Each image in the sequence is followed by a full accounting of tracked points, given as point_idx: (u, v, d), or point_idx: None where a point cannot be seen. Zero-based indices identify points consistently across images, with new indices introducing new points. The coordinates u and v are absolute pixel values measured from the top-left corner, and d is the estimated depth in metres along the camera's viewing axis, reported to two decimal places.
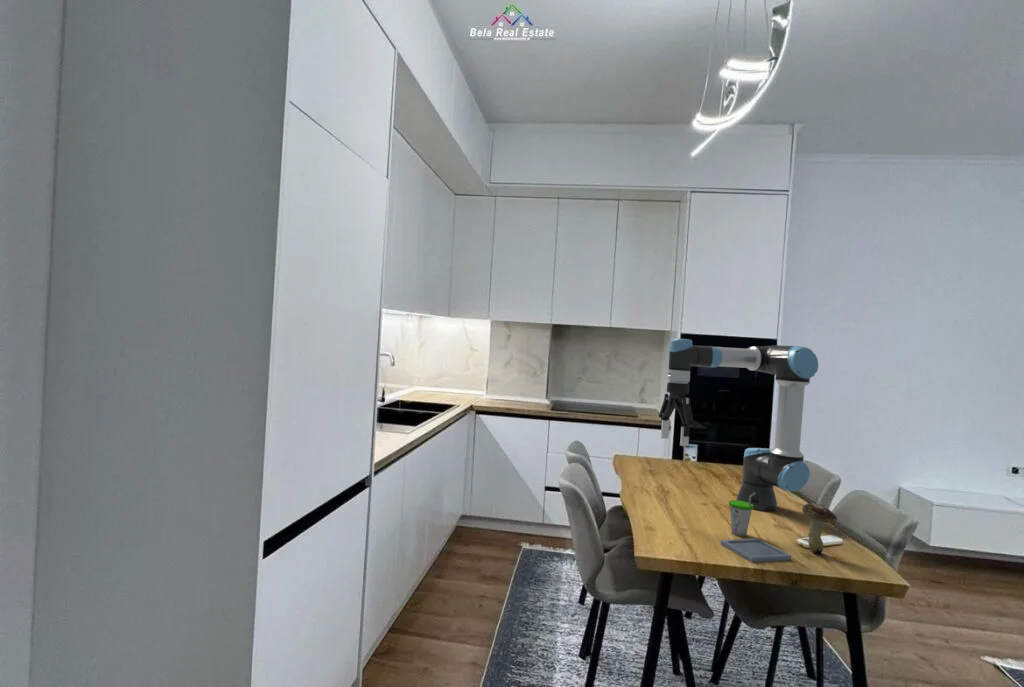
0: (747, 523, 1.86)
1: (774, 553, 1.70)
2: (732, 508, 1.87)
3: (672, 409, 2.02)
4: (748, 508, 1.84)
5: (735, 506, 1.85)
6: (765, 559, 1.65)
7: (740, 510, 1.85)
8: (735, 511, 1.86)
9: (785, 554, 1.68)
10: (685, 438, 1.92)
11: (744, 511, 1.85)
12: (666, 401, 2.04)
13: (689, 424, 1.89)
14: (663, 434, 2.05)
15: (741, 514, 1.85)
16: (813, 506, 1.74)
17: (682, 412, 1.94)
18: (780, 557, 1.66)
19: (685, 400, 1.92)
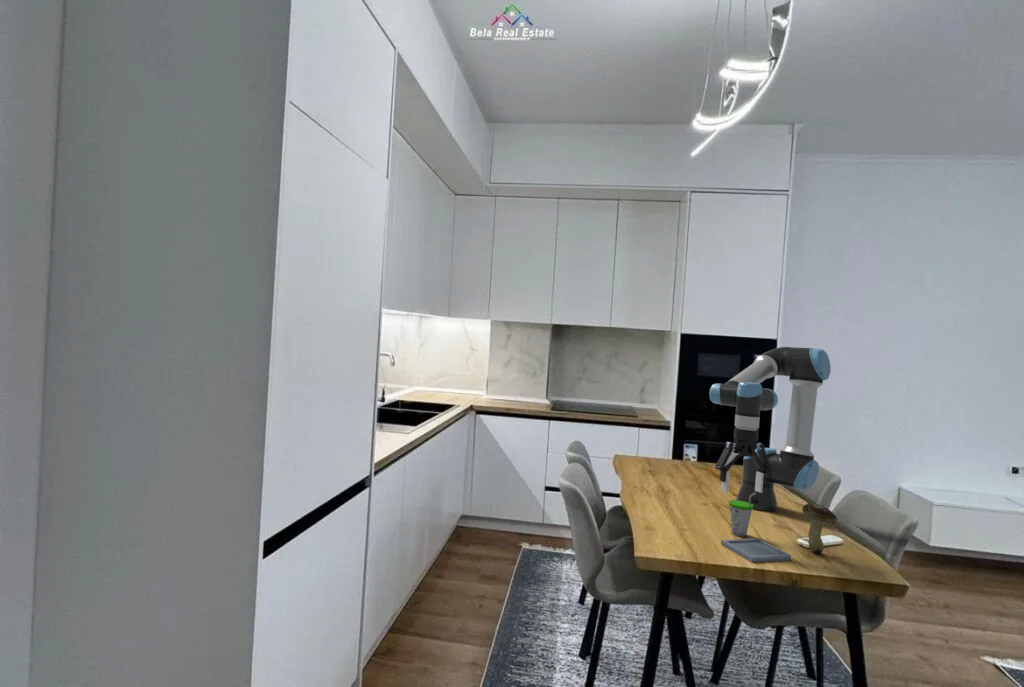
0: (747, 523, 1.86)
1: (774, 553, 1.70)
2: (732, 508, 1.87)
3: (754, 459, 1.88)
4: (748, 508, 1.84)
5: (735, 506, 1.85)
6: (765, 559, 1.65)
7: (740, 510, 1.85)
8: (735, 511, 1.86)
9: (785, 554, 1.68)
10: (723, 483, 1.86)
11: (744, 511, 1.85)
12: (758, 451, 1.90)
13: (716, 467, 1.85)
14: (756, 486, 1.90)
15: (741, 514, 1.85)
16: (813, 506, 1.74)
17: (729, 457, 1.87)
18: (780, 557, 1.66)
19: (726, 444, 1.87)
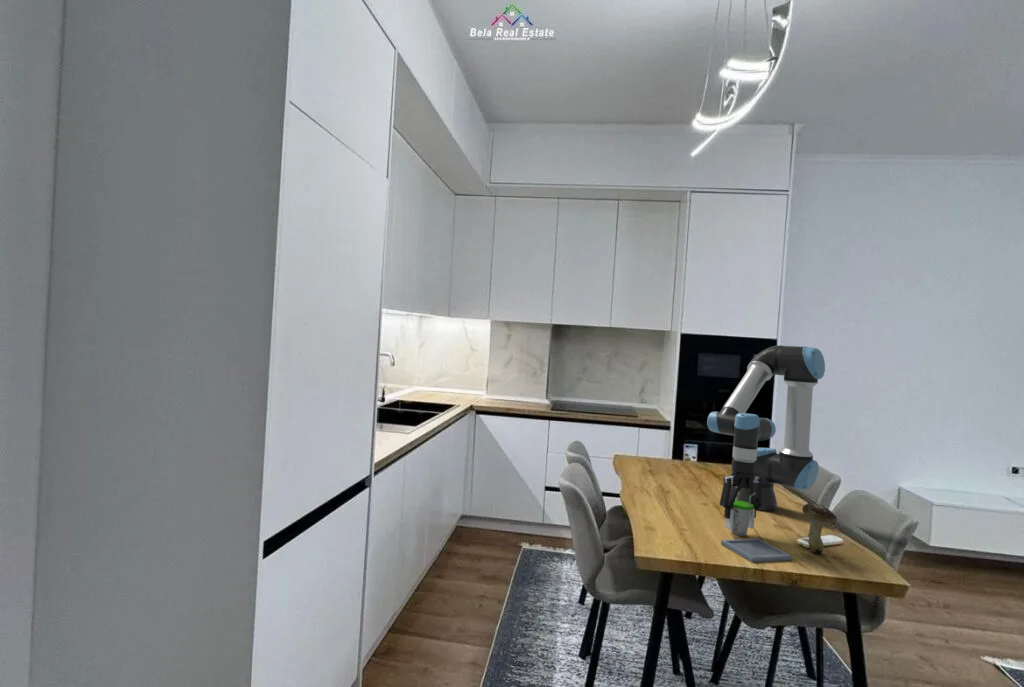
0: (747, 523, 1.86)
1: (774, 553, 1.70)
2: (732, 508, 1.87)
3: (749, 492, 1.88)
4: (748, 508, 1.84)
5: (735, 506, 1.85)
6: (765, 559, 1.65)
7: (740, 510, 1.85)
8: (735, 511, 1.86)
9: (785, 554, 1.68)
10: (728, 520, 1.87)
11: (744, 511, 1.85)
12: (754, 484, 1.90)
13: (721, 504, 1.86)
14: None
15: (741, 514, 1.85)
16: (813, 506, 1.74)
17: (730, 492, 1.87)
18: (780, 557, 1.66)
19: (724, 479, 1.87)
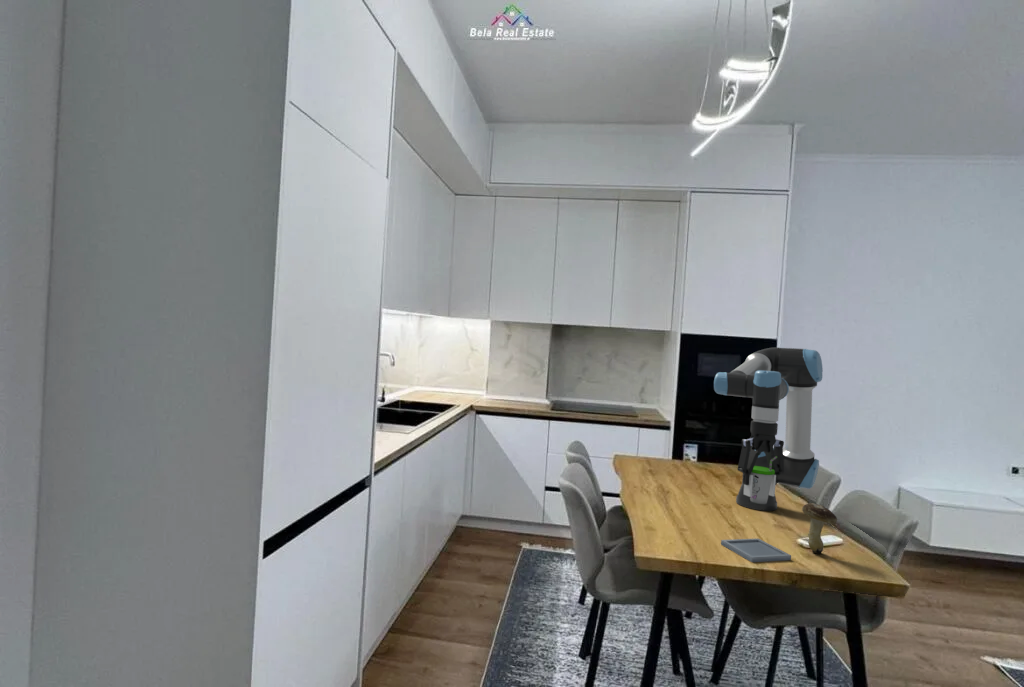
0: (768, 490, 1.70)
1: (774, 553, 1.70)
2: (751, 473, 1.71)
3: (769, 456, 1.72)
4: (769, 473, 1.68)
5: (755, 471, 1.69)
6: (765, 559, 1.65)
7: (760, 475, 1.69)
8: (755, 476, 1.70)
9: (785, 554, 1.68)
10: (747, 487, 1.70)
11: (765, 476, 1.68)
12: (774, 448, 1.74)
13: (739, 469, 1.70)
14: None
15: (761, 480, 1.69)
16: (813, 506, 1.74)
17: (749, 456, 1.71)
18: (780, 557, 1.66)
19: (742, 442, 1.71)
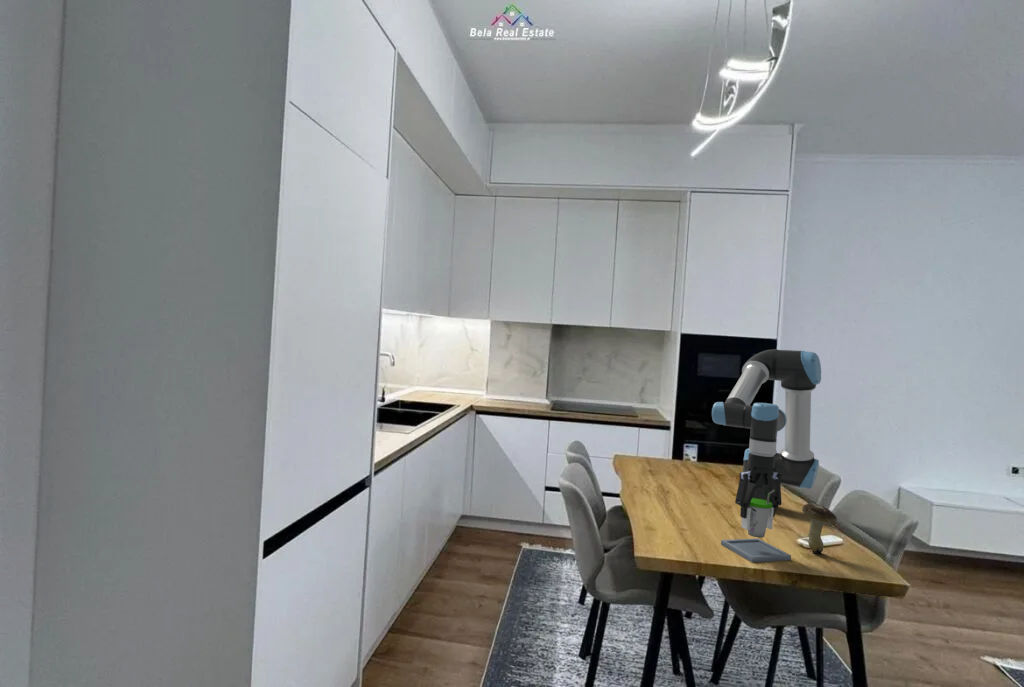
0: (765, 523, 1.70)
1: (774, 553, 1.70)
2: (749, 506, 1.71)
3: (767, 489, 1.72)
4: (767, 506, 1.68)
5: (752, 504, 1.69)
6: (765, 559, 1.65)
7: (758, 509, 1.69)
8: (752, 510, 1.70)
9: (785, 554, 1.68)
10: (744, 520, 1.70)
11: (762, 510, 1.68)
12: (772, 480, 1.74)
13: (736, 502, 1.70)
14: None
15: (759, 513, 1.69)
16: (813, 506, 1.74)
17: (747, 489, 1.71)
18: (780, 557, 1.66)
19: (740, 475, 1.71)
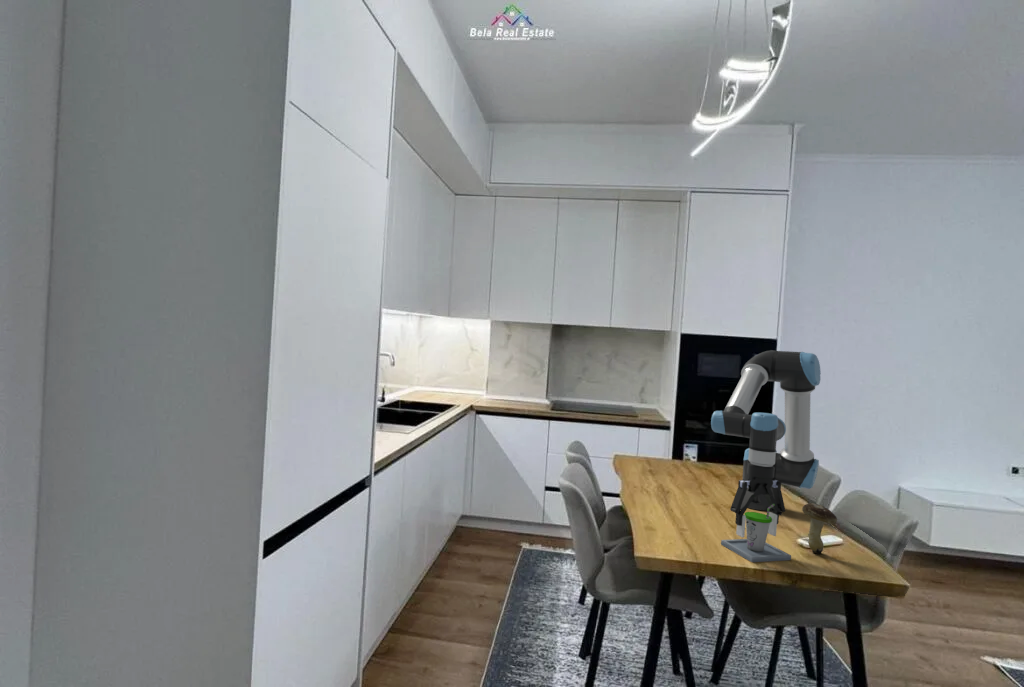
0: (765, 537, 1.70)
1: (774, 553, 1.70)
2: (748, 521, 1.71)
3: (768, 498, 1.72)
4: (766, 521, 1.68)
5: (752, 518, 1.69)
6: (765, 559, 1.65)
7: (757, 523, 1.69)
8: (752, 524, 1.70)
9: (785, 554, 1.68)
10: (739, 527, 1.70)
11: (762, 524, 1.69)
12: (773, 488, 1.74)
13: (731, 509, 1.70)
14: (769, 529, 1.74)
15: (758, 527, 1.69)
16: (813, 506, 1.74)
17: (744, 497, 1.71)
18: (780, 557, 1.66)
19: (739, 483, 1.71)
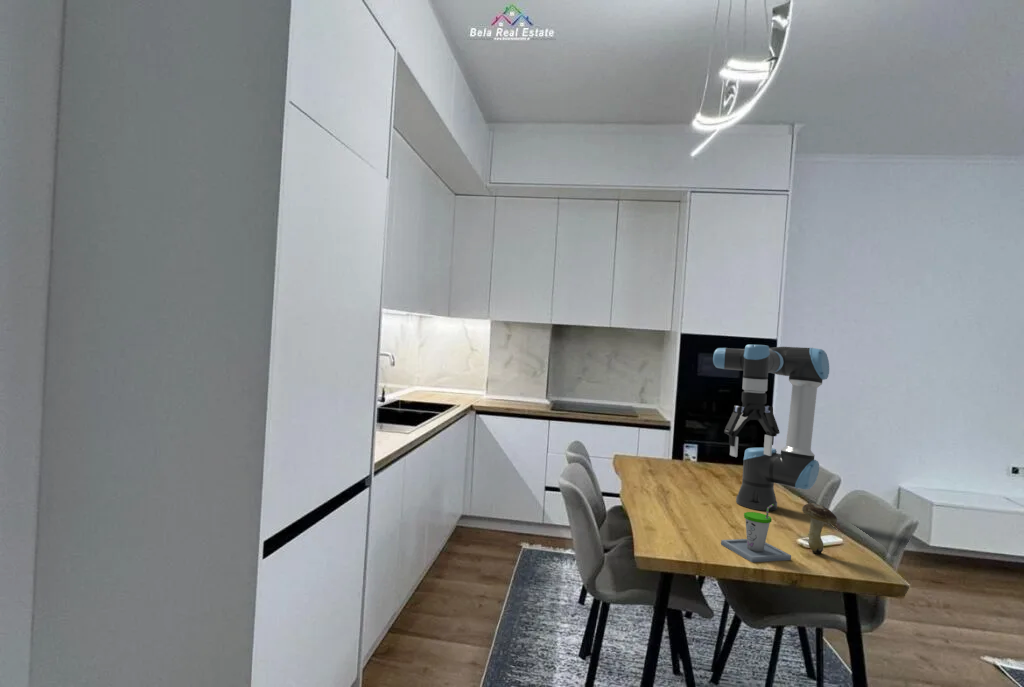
0: (764, 537, 1.70)
1: (774, 553, 1.70)
2: (748, 521, 1.71)
3: (762, 422, 1.85)
4: (766, 521, 1.68)
5: (751, 519, 1.69)
6: (765, 559, 1.65)
7: (757, 523, 1.69)
8: (751, 524, 1.70)
9: (785, 554, 1.68)
10: (733, 448, 1.83)
11: (761, 524, 1.69)
12: (766, 414, 1.87)
13: (725, 431, 1.82)
14: (765, 450, 1.88)
15: (758, 528, 1.69)
16: (813, 506, 1.74)
17: (738, 421, 1.84)
18: (780, 557, 1.66)
19: (734, 408, 1.83)
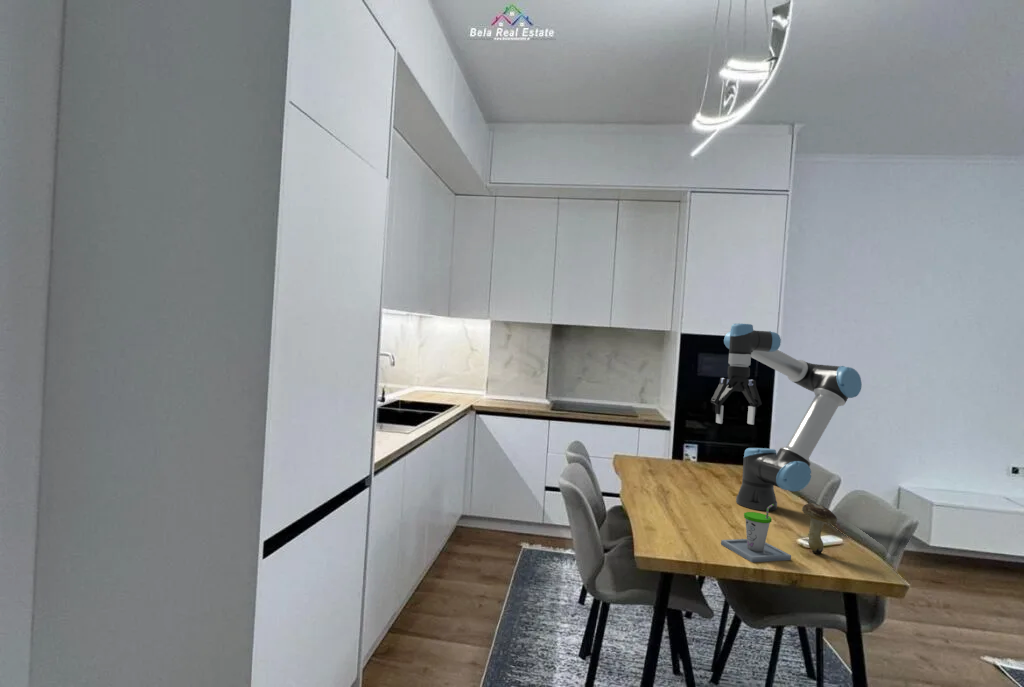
0: (764, 537, 1.70)
1: (774, 553, 1.70)
2: (748, 521, 1.71)
3: (746, 394, 2.06)
4: (766, 521, 1.68)
5: (751, 519, 1.69)
6: (765, 559, 1.65)
7: (757, 523, 1.69)
8: (751, 524, 1.70)
9: (785, 554, 1.68)
10: (718, 416, 2.03)
11: (761, 524, 1.69)
12: (749, 387, 2.08)
13: (712, 401, 2.03)
14: (748, 419, 2.08)
15: (758, 528, 1.69)
16: (813, 506, 1.74)
17: (724, 392, 2.04)
18: (780, 557, 1.66)
19: (720, 380, 2.04)
